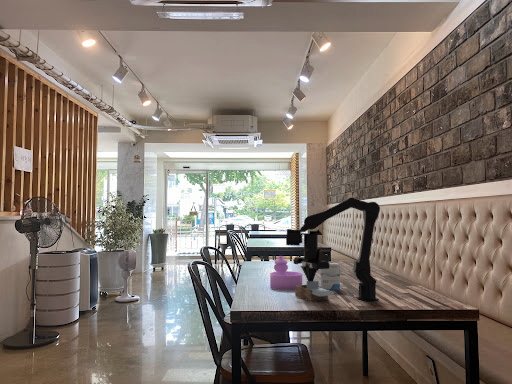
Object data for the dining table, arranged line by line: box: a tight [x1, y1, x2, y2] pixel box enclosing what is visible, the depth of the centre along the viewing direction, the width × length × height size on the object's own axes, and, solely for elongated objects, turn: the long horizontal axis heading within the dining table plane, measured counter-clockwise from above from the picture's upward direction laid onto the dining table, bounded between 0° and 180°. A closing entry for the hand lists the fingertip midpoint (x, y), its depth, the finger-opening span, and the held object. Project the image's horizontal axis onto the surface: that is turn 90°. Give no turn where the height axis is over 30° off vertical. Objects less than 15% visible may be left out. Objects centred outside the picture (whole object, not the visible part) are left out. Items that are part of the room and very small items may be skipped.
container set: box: [269, 255, 303, 291], centre depth 185 cm, size 25×15×13 cm, turn 7°
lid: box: [306, 280, 335, 297], centre depth 150 cm, size 10×7×4 cm, turn 25°
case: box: [294, 283, 329, 303], centre depth 155 cm, size 12×8×4 cm, turn 25°
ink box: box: [319, 262, 341, 291], centre depth 176 cm, size 8×5×12 cm, turn 84°
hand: (310, 283), depth 156 cm, fingers closed
